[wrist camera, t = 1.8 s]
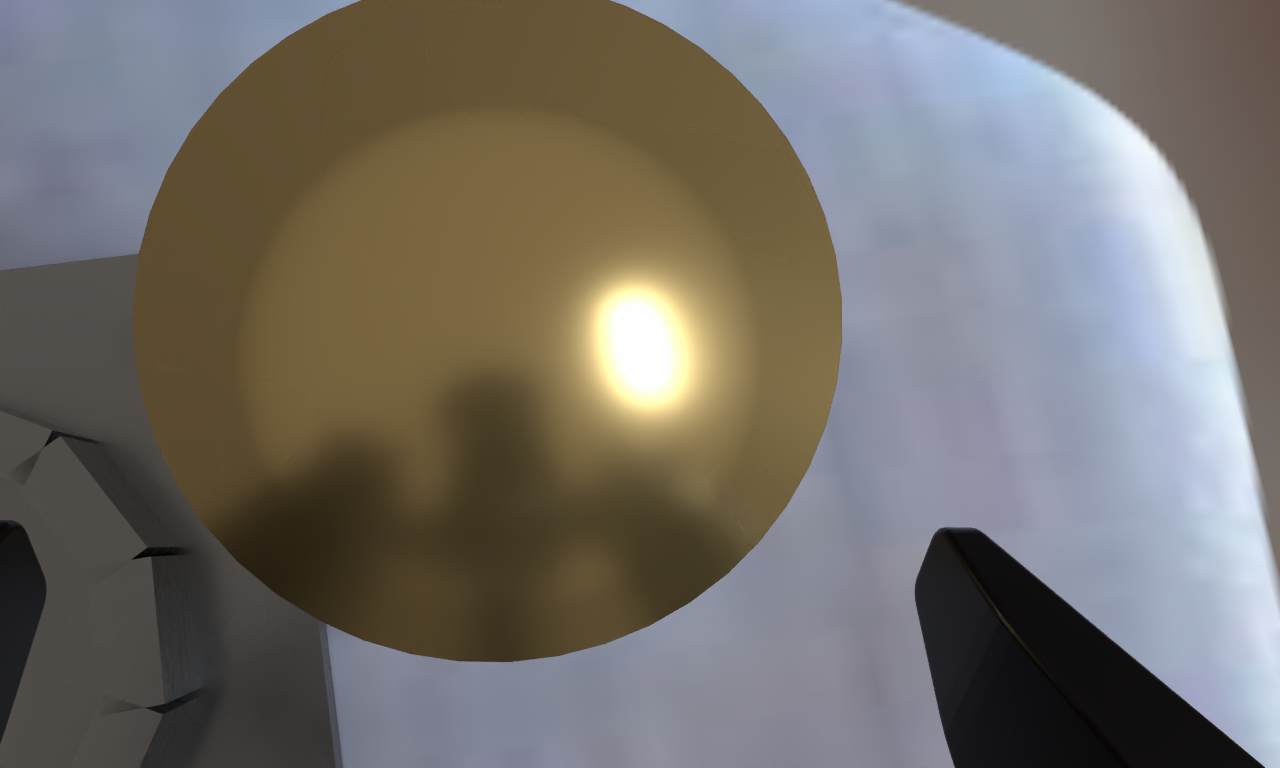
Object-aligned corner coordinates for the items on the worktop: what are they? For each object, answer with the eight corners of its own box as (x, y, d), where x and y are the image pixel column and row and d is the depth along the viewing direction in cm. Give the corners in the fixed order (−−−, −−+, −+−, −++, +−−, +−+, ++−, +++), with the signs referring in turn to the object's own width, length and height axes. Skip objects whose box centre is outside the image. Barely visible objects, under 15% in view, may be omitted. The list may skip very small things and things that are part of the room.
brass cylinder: (646, 555, 19) (904, 590, 6) (414, 596, 18) (169, 729, 6) (609, 333, 20) (774, -47, 7) (384, 366, 19) (100, 8, 6)
